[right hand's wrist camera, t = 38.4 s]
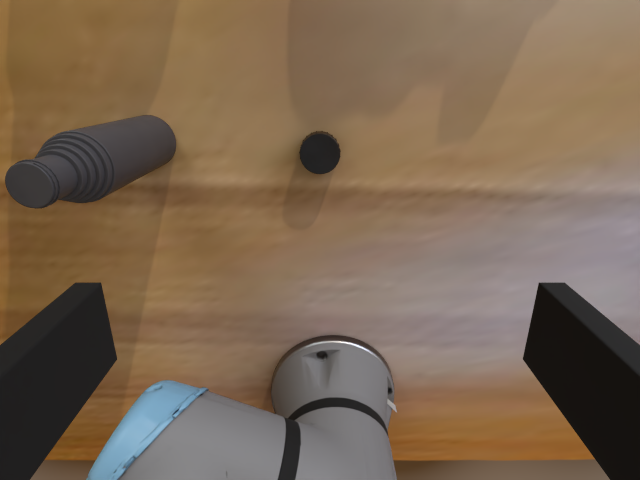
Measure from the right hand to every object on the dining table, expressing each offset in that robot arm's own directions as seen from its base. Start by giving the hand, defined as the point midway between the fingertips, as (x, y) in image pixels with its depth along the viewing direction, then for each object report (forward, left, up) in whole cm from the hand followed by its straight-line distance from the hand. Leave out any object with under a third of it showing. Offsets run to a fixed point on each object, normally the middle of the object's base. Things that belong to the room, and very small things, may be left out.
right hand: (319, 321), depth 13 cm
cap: (0, 0, -30) cm, 30 cm away
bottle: (-8, +15, -32) cm, 36 cm away
